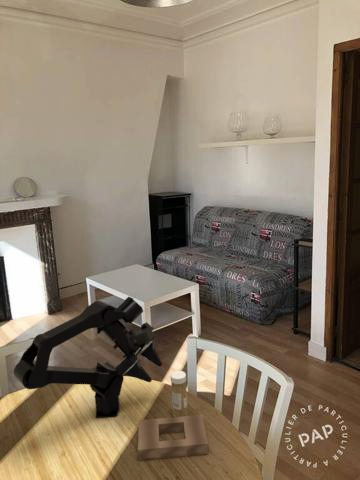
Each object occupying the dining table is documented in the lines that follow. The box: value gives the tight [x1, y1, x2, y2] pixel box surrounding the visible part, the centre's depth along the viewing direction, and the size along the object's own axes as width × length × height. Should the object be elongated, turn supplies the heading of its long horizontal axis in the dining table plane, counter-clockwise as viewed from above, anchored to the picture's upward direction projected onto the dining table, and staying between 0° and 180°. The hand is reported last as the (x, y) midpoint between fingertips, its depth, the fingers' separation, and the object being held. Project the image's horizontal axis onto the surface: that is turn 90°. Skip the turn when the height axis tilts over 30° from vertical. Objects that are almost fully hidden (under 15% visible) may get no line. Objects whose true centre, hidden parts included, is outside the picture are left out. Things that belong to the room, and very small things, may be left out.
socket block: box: [137, 414, 209, 461], centre depth 113 cm, size 18×12×3 cm, turn 94°
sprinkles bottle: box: [170, 370, 189, 417], centre depth 123 cm, size 5×5×13 cm
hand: (156, 373), depth 124 cm, fingers open, 9 cm apart
